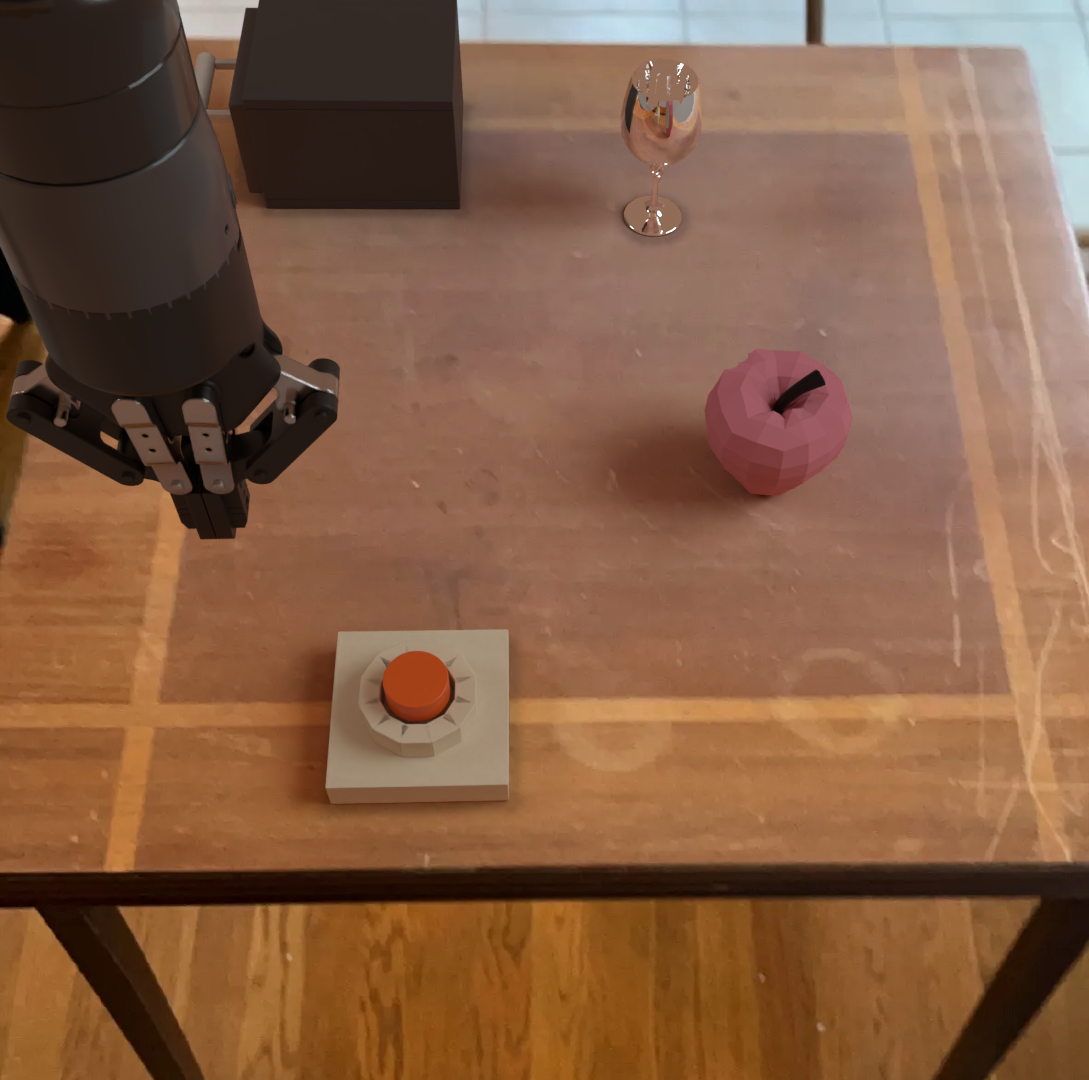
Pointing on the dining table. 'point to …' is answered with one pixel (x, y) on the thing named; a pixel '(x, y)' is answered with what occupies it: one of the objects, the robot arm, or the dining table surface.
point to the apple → (777, 420)
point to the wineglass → (660, 134)
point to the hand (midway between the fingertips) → (221, 522)
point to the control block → (420, 747)
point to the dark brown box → (356, 103)
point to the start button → (416, 686)
